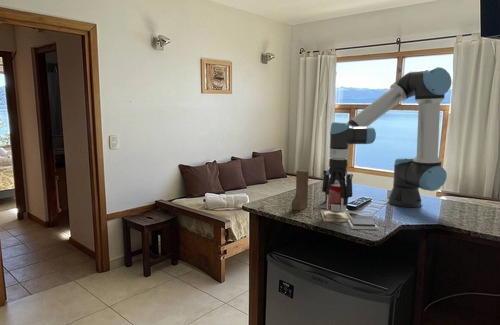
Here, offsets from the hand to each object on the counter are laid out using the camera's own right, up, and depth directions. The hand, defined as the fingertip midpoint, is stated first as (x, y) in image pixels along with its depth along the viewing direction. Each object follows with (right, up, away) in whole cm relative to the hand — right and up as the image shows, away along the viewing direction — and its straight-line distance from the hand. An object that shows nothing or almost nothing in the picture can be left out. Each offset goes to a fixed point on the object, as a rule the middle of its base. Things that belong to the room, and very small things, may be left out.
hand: (336, 210), depth 156 cm
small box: (+5, +1, +24) cm, 25 cm away
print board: (0, -3, 0) cm, 3 cm away
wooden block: (-14, -1, +14) cm, 20 cm away
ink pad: (+8, -5, -11) cm, 14 cm away
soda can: (0, -1, 0) cm, 1 cm away
